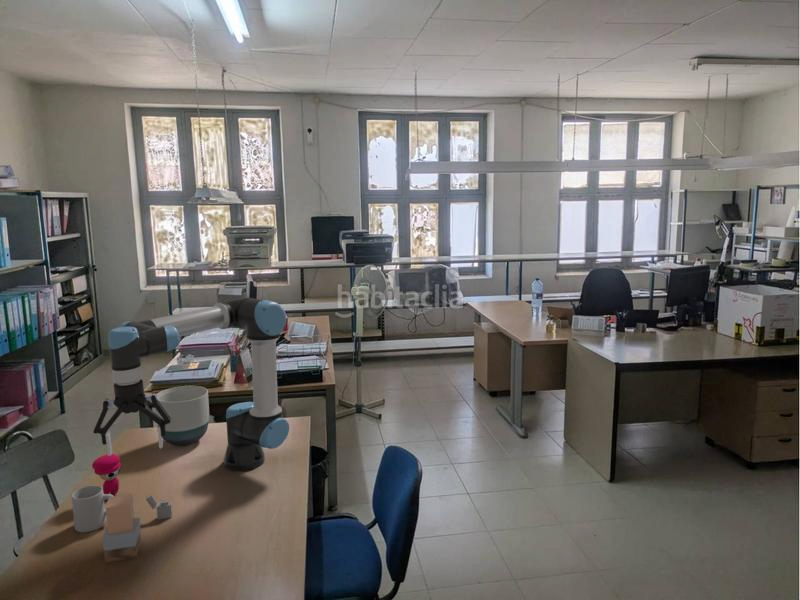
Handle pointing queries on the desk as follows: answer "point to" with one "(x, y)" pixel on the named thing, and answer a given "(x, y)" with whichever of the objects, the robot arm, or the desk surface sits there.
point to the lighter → (160, 508)
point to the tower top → (122, 537)
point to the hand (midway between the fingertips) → (136, 450)
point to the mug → (89, 508)
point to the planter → (185, 414)
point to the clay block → (120, 514)
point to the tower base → (122, 552)
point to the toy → (108, 472)
